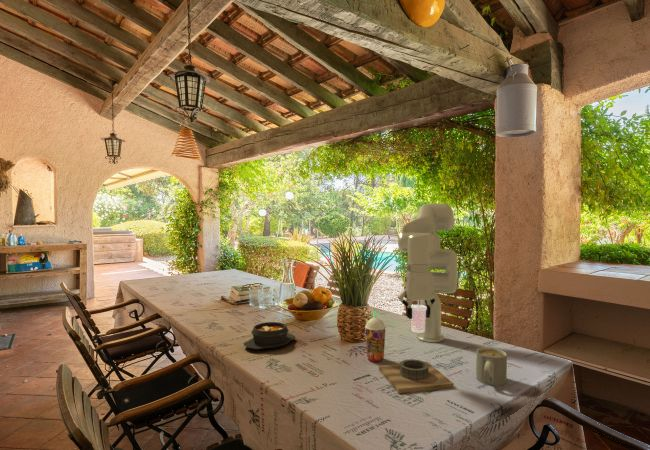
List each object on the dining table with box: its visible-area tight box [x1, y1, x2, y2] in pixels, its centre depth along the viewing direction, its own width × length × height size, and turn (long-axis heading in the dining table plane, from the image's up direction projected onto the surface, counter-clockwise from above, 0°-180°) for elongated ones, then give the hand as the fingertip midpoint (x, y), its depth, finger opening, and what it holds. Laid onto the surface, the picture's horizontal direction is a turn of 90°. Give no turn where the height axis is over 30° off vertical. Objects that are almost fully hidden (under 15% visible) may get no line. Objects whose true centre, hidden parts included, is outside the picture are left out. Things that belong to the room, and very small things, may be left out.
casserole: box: [243, 321, 296, 350], centre depth 181 cm, size 25×19×8 cm
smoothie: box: [364, 310, 387, 363], centre depth 161 cm, size 8×8×20 cm
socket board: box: [378, 358, 454, 394], centre depth 144 cm, size 20×20×5 cm
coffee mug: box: [475, 347, 508, 387], centre depth 141 cm, size 13×10×10 cm
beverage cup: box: [410, 301, 427, 334], centre depth 144 cm, size 6×6×14 cm
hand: (418, 317), depth 144 cm, fingers closed on beverage cup, 6 cm apart
